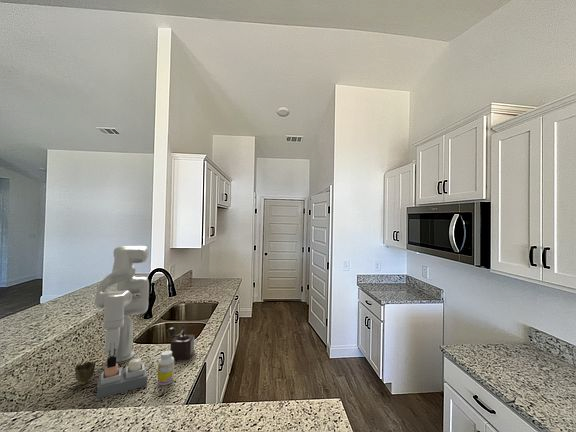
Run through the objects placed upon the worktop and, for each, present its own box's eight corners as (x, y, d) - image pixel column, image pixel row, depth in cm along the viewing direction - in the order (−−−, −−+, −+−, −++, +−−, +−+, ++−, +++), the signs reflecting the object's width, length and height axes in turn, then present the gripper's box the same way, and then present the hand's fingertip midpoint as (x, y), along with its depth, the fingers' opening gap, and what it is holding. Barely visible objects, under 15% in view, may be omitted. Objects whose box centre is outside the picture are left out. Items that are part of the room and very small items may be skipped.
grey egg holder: (99, 384, 119) (99, 370, 119) (144, 373, 128) (145, 360, 129) (96, 398, 109) (97, 383, 109) (146, 385, 118) (147, 371, 118)
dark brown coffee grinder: (174, 352, 151) (175, 319, 152) (194, 351, 152) (195, 318, 154) (164, 365, 136) (165, 329, 137) (187, 364, 137) (188, 328, 138)
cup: (92, 377, 124) (92, 359, 125) (97, 383, 120) (98, 364, 120) (71, 384, 119) (72, 365, 119) (76, 390, 114) (77, 371, 114)
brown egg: (104, 376, 117) (105, 365, 117) (117, 373, 120) (118, 362, 120) (104, 382, 113) (104, 369, 113) (117, 378, 115) (118, 366, 116)
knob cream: (128, 371, 122) (129, 360, 122) (140, 368, 124) (141, 357, 125) (128, 376, 118) (129, 364, 118) (141, 373, 120) (141, 361, 121)
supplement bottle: (162, 377, 125) (163, 349, 125) (176, 377, 124) (177, 349, 125) (154, 385, 118) (155, 355, 119) (169, 386, 118) (170, 356, 118)
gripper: (104, 319, 122) (102, 361, 121) (102, 329, 109) (99, 376, 108) (123, 317, 126) (121, 357, 125) (123, 326, 113) (121, 371, 112)
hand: (111, 366), depth 116 cm, fingers closed
